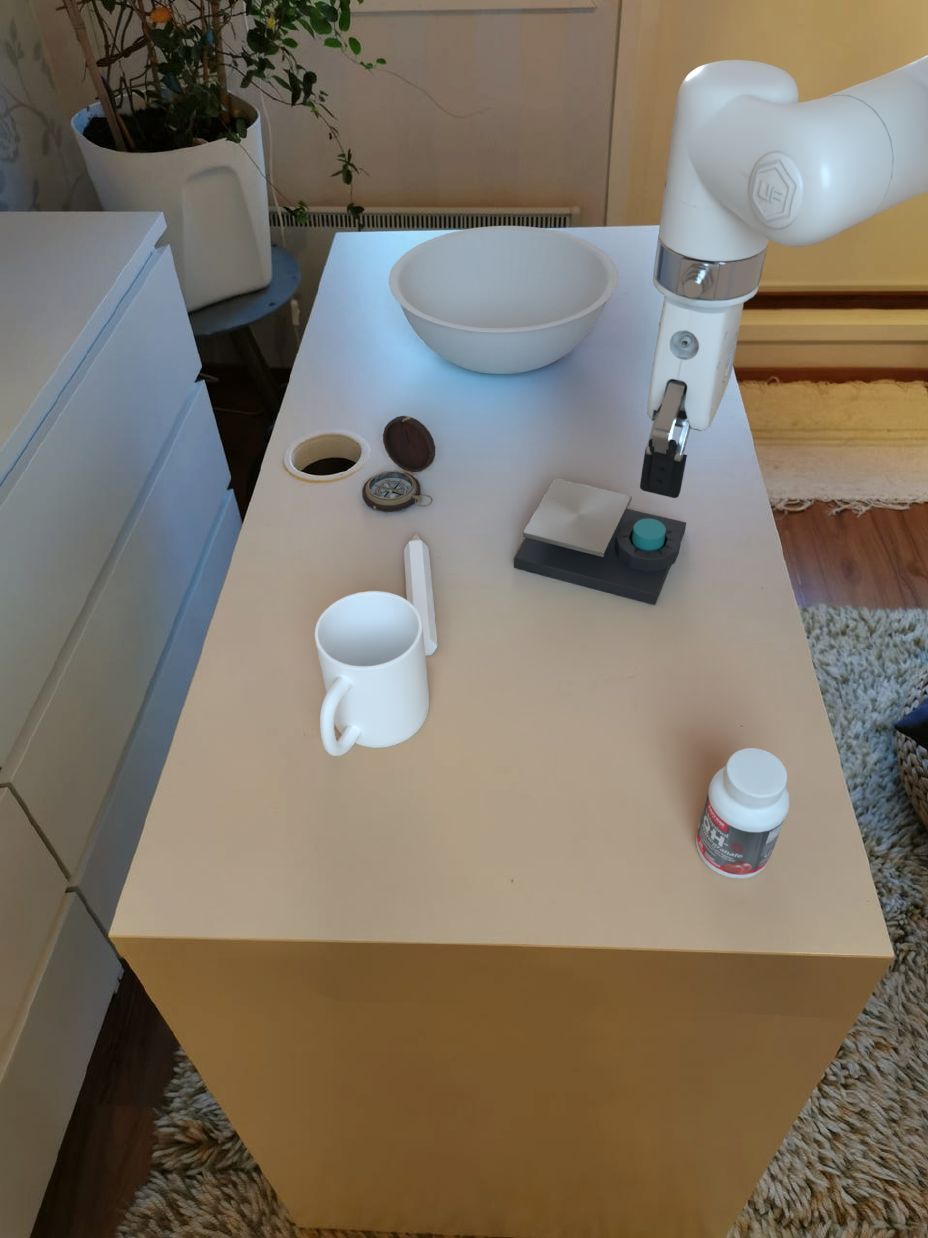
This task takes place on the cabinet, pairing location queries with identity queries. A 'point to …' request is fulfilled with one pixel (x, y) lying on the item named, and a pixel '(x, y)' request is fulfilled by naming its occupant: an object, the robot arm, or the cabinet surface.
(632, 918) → the cabinet surface
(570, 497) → the pan
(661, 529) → the button
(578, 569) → the scale
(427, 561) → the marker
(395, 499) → the compass
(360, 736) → the cup
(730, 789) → the pill bottle
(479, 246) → the bowl
